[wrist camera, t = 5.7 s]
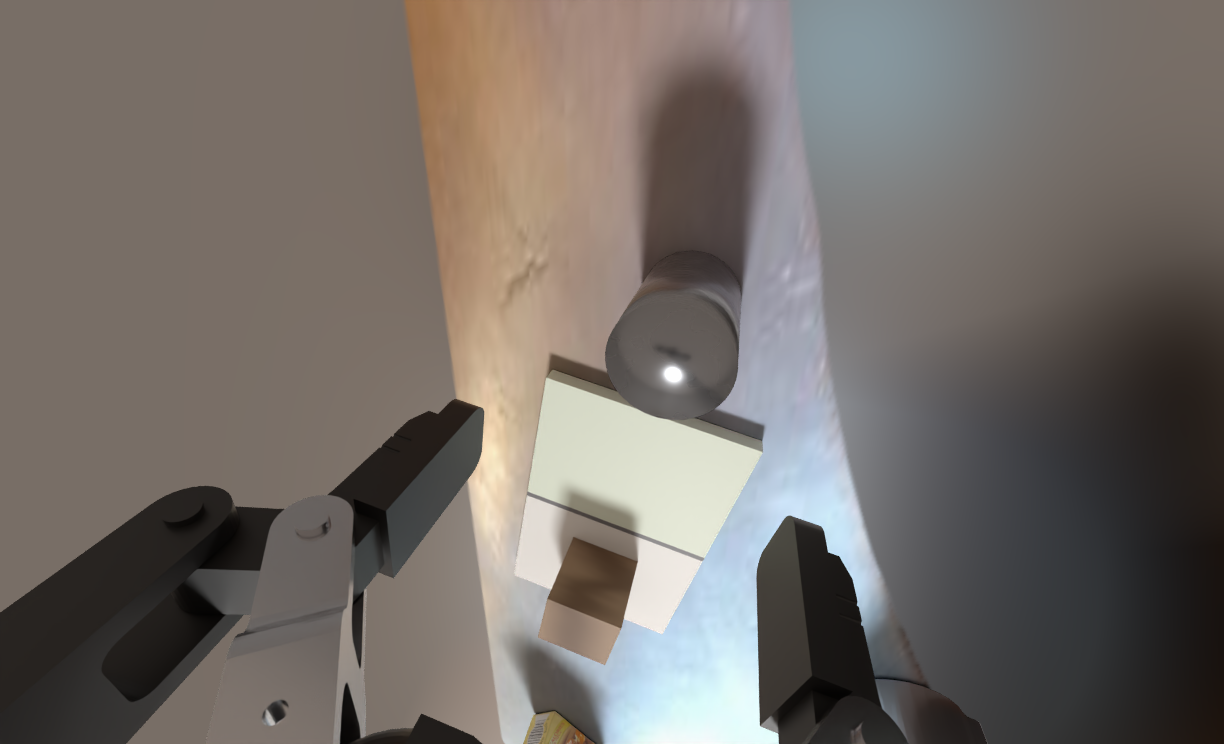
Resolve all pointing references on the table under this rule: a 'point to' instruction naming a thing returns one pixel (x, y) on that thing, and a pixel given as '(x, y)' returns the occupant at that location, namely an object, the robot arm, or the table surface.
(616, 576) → the walnut block
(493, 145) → the table surface
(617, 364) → the grey cylinder
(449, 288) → the table surface
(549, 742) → the candy box
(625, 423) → the board
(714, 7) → the table surface
